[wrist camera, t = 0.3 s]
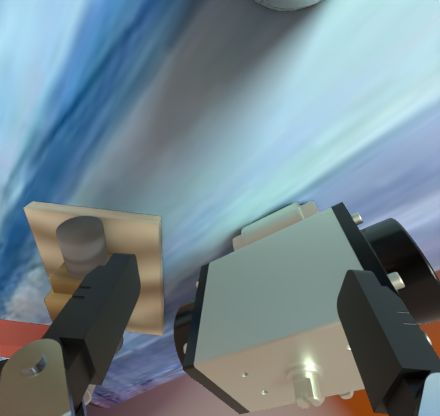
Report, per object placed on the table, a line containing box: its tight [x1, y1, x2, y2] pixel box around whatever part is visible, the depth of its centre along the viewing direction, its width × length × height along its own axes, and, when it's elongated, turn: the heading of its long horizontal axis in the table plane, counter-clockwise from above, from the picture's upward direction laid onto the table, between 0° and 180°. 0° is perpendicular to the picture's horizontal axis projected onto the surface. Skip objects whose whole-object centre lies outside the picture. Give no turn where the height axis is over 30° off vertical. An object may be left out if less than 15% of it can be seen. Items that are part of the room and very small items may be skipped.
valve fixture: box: [24, 201, 165, 355], centre depth 33 cm, size 21×15×9 cm
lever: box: [0, 319, 50, 358], centre depth 28 cm, size 16×3×2 cm, turn 85°
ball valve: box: [174, 200, 440, 414], centre depth 23 cm, size 18×8×18 cm, turn 124°
